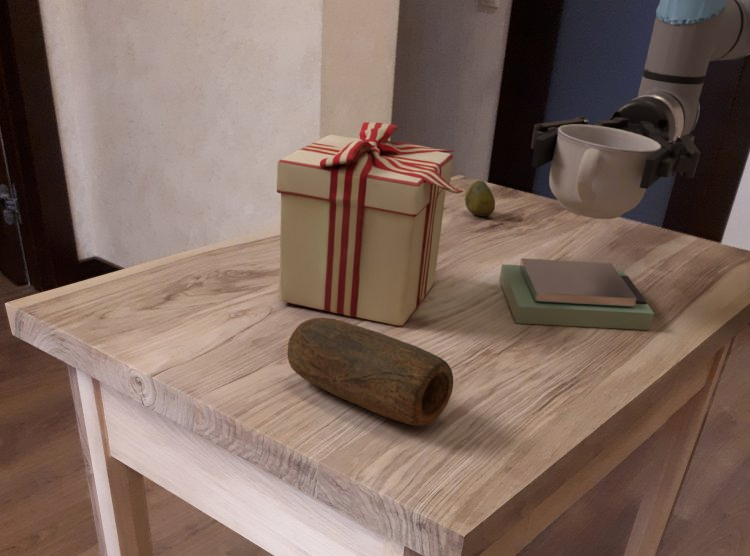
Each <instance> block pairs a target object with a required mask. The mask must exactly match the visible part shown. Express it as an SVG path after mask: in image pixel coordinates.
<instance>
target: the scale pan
mask: <svg viewBox="0 0 750 556" xmlns="http://www.w3.org/2000/svg"><path fill="white" fill-rule="evenodd" d="M519 265H520V268H521V270H522V272H523V274H524V276H525V279H526V281H527V283H528V285H529V288H530V290H531V292H532V294H533V296H534V299H535V301H536V302H554V303H572V304H591V305H609V306H628V307H635V303H636V299H637V298H636V297H635V295H634V294H633V293H632V291H631V290H630V288H629V287H628V286H627V284H626V283H625V282H624V280H623V279H622V277H621V276H620V275H619V273H618V272H617V271H618V270H617V269H616V267H615V266H614V264H612V263H609V262H593V261H577V260H576V261H573V260H556V259H555V260H554V259H542V258H541V259H540V258H539V259H538V258H523V257H521V258H520V263H519Z"/></svg>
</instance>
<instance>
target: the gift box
mask: <svg viewBox="0 0 750 556" xmlns="http://www.w3.org/2000/svg"><path fill="white" fill-rule="evenodd" d="M398 129H399V126H398V125H396V124H392V123H391V124H390V123H384V122H366V121H365V122H363V123H362V125H361V127H360V131H359V133H358V135H359V138H356V137H349V136H342V135H337V134H327V135H325V136H324V137H321V138H320V139H318V140H316V141H314V142H312V143H309V144H308V145H306V146H304V147H302V148H300V149H298V150H296V151H294V152H292V153H290V154H289V155H287V156H285V157H282V158H281V159H279V160H278V161H277V164H276V193H277V194H280V236H279V237H280V238H279V241H280V243H279V244H280V245H279V246H280V247H279V301H281V302H283V303H287V304H292V305H298V306H301V307H306V308H311V309H315V310H320V311H325V312H329V313H334V314H338V315H339V314H340V315H342V316H343V315H344V316H349V317H354V318H359V319H363V320H368V321H373V322H379V323H384V324H387V325H388V324H389V325H393V326H398V327H402V326H404V325H405V324H406V323H407V321H408V320H409V319H410V317H411V316H412V314H413V313H414V312H415V311H416V309H417V308H419V306H420V303H421V302H422V301H423V300H424V299H425V297H426V296H427V295H428V293H429V292H430V290H432V288H433V286H434V285H435V279H436V272H437V264H438V256H439V247H440V240H441V233H442V225H443V218H444V208H445V200H446V192H449V193H452V194H455V195H456V194H462V193H464V190H462V189H458V188H455V187H454V186H452V185H451V181H452V180H451V179H452V172H453V171H452V170H453V164H454V154H452V152H455V149H441V148H435V147H434V148H433V147H429V146H424V145H420V144H415V143H409V142H393V141H390V140H389V139H390V138H391V137H392V136H393V134H394V133H395V131H397V130H398Z"/></svg>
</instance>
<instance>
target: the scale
mask: <svg viewBox="0 0 750 556" xmlns="http://www.w3.org/2000/svg"><path fill="white" fill-rule="evenodd" d="M617 272H618V273H619V275H620V276H621V277H622V279H623V280H624V282H625V283H626V284H627V286H628V287H629V288H630V290H631V291H632V293H633V294H634V295H635V297H636V298H637V299H636V303H635V307H628V306H609V305H591V304H572V303H554V302H536V301H535V299H534V296H533V294H532V292H531V290H530V288H529V285H528V283H527V281H526V279H525V276H524V274H523V272H522V270H521V268H520V264H519V265H517V264H501V268H500V274H499V283H500V285H501V288H502V291H503V293H504V296H505V299H506V301H507V304H508V307H509V309H510V312H511V314H512V317H513V320H514V322H515V324H522V325H523V324H525V325H543V326H561V327H563V326H564V327H578V328H579V327H580V328H582V327H583V328H600V329H619V330H620V329H621V330H636V331H650V330H651V327H652V324H653V320H654V317H655V312H654V310H653V309H652V308H651V306H650V305H649V304H648V301H647V300H646V298H645V297H644V295H642V293H641V291H640V289H638V287H637V286H636V285H635V284H634V282H633V281H632V280H631V278H630V276H629V275H627V274H626V273H625V272H624V270H617Z"/></svg>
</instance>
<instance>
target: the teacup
mask: <svg viewBox="0 0 750 556" xmlns="http://www.w3.org/2000/svg"><path fill="white" fill-rule="evenodd" d="M660 149H661V145H660V144H659V143H658V142H656V141H654V140H652V139H650V138H648V137H645V136H642V135H639V134H635V133H632V132H628V131H624V130H620V129H614V128H609V127H603V126H594V124H593V125H592V124H588V125H582V124H570V125H563V126H560V127H559V128H558V137H557V141H556V145H555V150H554V154H553V159H552V161H551V165H550V171H549V178H548V179H549V180H548V181H549V188H550V191H551V193H552V194H553V196H554V197H555V198H556V200H557V201H558V205H559V206H560V207H561V208H562V209H563V210H565V211H568V212H569V213H573V214H575V215H577V216H582V217H586V218H591V219H598V220H612V219H617V218H620V217H622V216H623V214H625V213H628V212H630V211H631V210H633V209H634V208H636V207H637V206H638V205H639V204H640V203H641V201H642V199H643V198H644V196H645V193H646V191H647V189H645V188H639V187H640V183H641V179H642V175H643V171H644V167H645V163H646V159H647V158H649V157H650V156H651V155H653V154H654V153H655V152H657V151H658V150H660Z"/></svg>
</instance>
